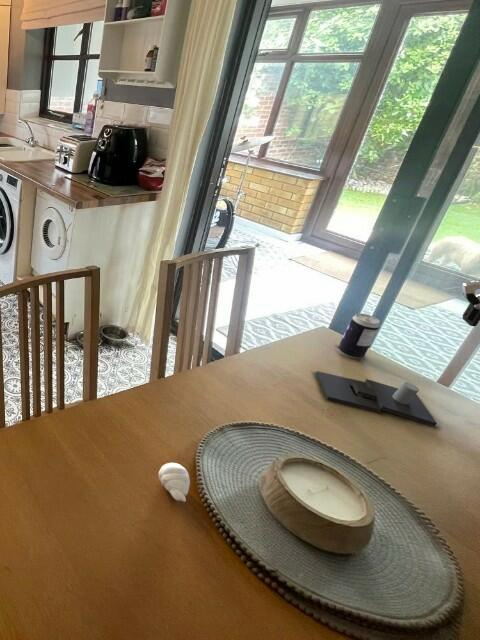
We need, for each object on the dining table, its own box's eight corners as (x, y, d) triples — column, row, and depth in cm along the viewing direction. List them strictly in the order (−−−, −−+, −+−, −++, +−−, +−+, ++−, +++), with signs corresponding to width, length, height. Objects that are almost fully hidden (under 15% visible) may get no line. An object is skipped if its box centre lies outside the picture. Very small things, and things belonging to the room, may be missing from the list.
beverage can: (360, 351, 117) (379, 316, 111) (365, 362, 112) (384, 327, 107) (335, 344, 119) (352, 310, 114) (338, 355, 115) (355, 320, 110)
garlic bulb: (163, 507, 77) (169, 488, 75) (154, 477, 82) (159, 459, 80) (193, 510, 76) (200, 492, 74) (183, 481, 82) (189, 462, 79)
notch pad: (363, 384, 105) (365, 382, 104) (379, 412, 97) (380, 409, 96) (315, 373, 109) (316, 370, 108) (326, 399, 100) (328, 396, 100)
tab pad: (414, 396, 101) (427, 380, 98) (434, 426, 93) (450, 409, 90) (347, 376, 106) (358, 360, 103) (361, 403, 98) (374, 386, 95)
